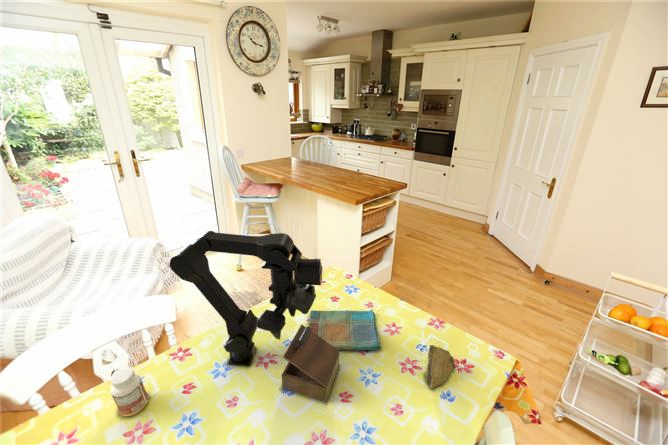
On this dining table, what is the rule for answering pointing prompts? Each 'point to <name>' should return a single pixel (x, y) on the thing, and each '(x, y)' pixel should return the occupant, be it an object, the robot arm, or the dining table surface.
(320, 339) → the lid
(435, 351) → the rock
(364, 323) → the dish towel
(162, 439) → the dining table surface
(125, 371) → the pill bottle
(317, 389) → the brown wooden box
